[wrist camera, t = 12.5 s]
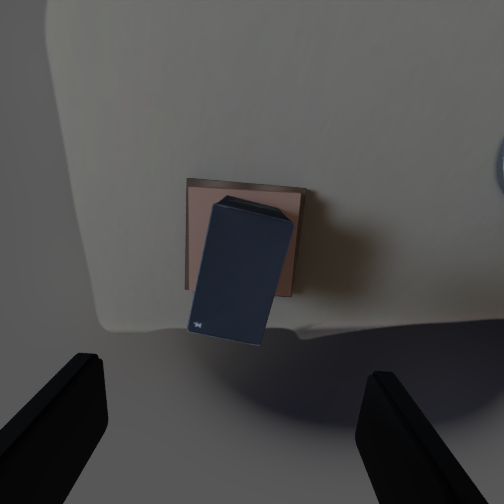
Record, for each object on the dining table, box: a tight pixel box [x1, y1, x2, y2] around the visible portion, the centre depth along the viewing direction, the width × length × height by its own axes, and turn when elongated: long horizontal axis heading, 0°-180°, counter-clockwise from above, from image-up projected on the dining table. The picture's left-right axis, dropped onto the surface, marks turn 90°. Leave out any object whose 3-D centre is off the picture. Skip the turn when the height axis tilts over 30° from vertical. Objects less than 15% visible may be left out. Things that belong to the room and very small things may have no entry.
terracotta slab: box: [188, 186, 301, 296], centre depth 31 cm, size 12×12×3 cm
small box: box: [187, 195, 295, 346], centre depth 25 cm, size 11×6×10 cm, turn 166°
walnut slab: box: [185, 178, 306, 297], centre depth 34 cm, size 14×14×3 cm
